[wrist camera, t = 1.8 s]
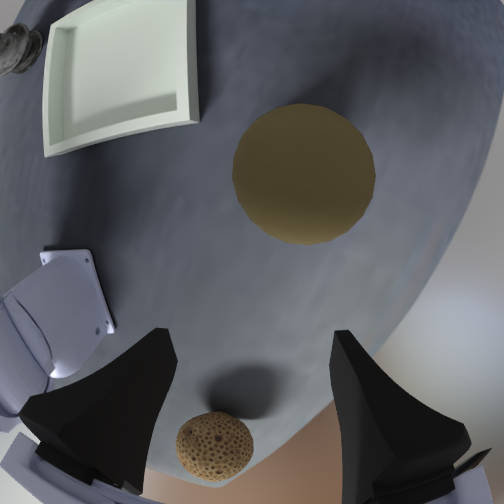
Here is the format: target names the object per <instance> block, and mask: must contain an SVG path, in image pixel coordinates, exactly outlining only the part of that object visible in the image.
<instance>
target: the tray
mask: <svg viewBox="0 0 504 504" xmlns="http://www.w3.org/2000/svg"><path fill="white" fill-rule="evenodd" d="M194 123H200V118H199V100H198V79H197V50H196V0H94V1H92V2H90V3H88V4H86V5H84V6H82V7H80V8H78V9H77V10H75V11H73V12H71V13H70V14H68V15H66V16H65V17H63V18H61V19H60V20H58V21H56V22H55V23H53V24H52V25H51V28H50V33H49V39H48V45H47V52H46V60H45V70H44V84H43V140H44V154H45V157H50V156H56V155H62V154H65V153H68V152H71V151H74V150H77V149H80V148H84V147H87V146H90V145H94V144H97V143H101V142H105V141H108V140H112V139H116V138H120V137H124V136H129V135H133V134H137V133H142V132H147V131H152V130H157V129H162V128H168V127H174V126H180V125H187V124H194Z"/></svg>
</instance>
